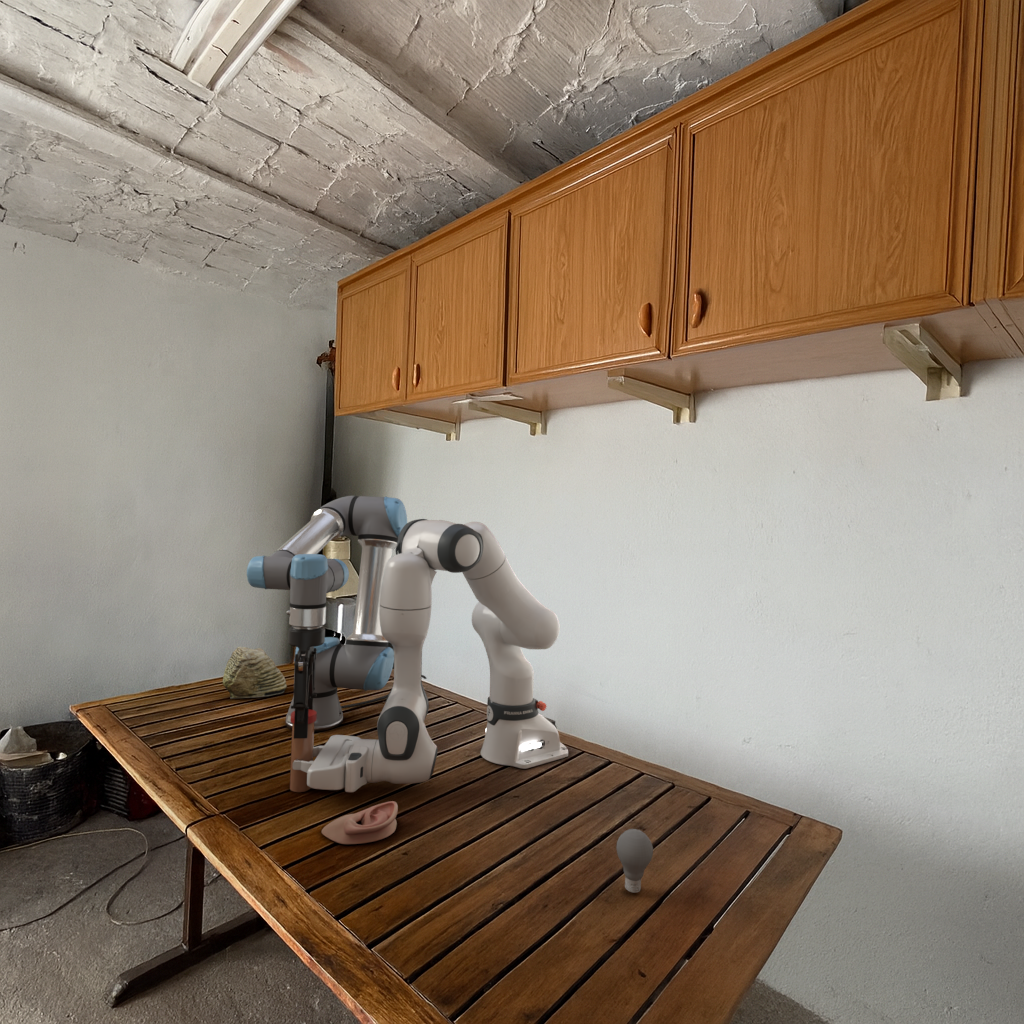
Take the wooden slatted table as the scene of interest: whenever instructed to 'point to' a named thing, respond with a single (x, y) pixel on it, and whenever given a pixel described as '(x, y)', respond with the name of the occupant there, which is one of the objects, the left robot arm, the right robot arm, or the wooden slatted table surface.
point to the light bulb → (634, 857)
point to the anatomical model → (364, 825)
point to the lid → (311, 716)
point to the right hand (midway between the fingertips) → (297, 758)
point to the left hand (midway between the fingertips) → (303, 732)
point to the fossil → (252, 674)
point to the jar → (301, 750)
